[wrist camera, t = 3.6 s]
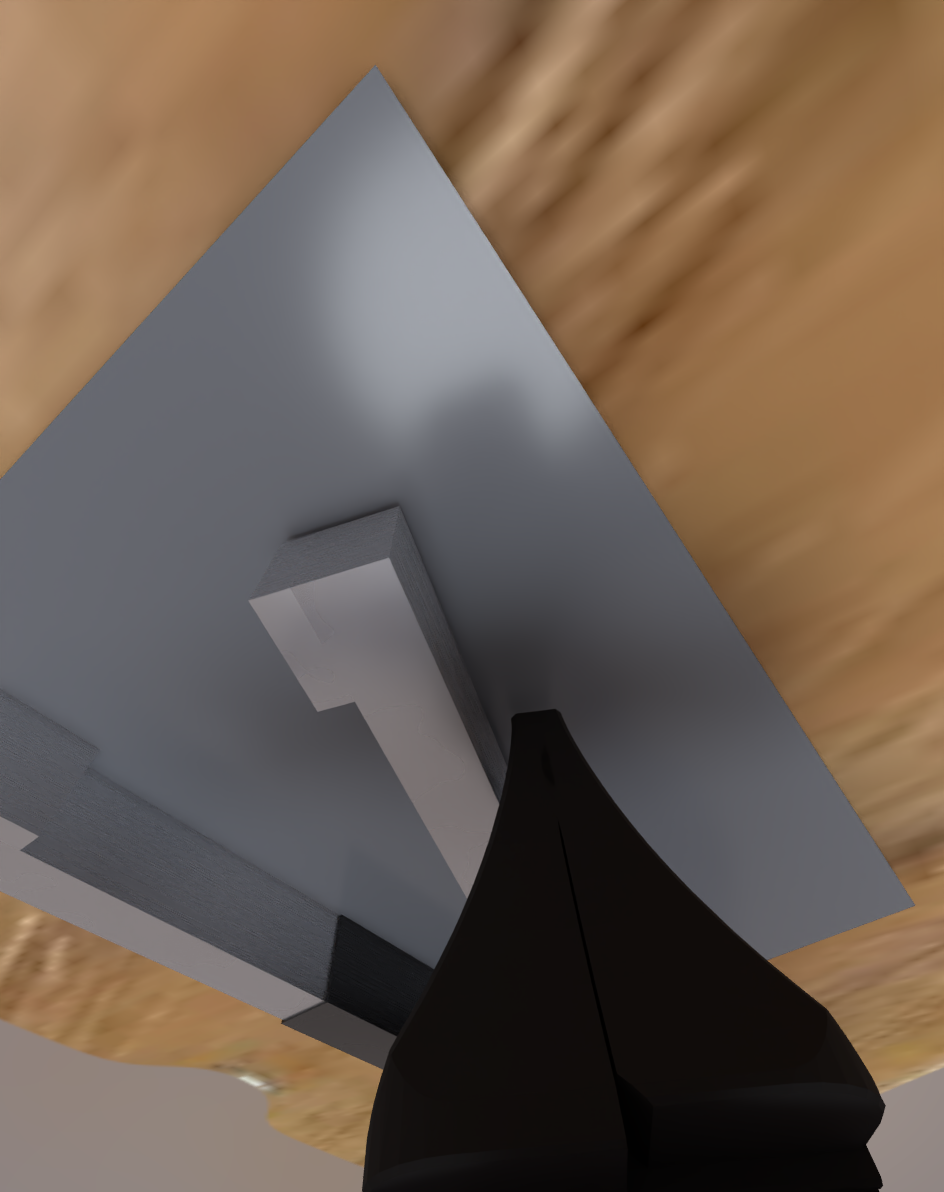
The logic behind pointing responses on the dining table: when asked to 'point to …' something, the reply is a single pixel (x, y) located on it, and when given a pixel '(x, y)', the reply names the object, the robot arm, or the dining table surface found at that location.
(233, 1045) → the dining table surface
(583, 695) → the slate board
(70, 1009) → the dining table surface
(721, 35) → the dining table surface
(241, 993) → the arm
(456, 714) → the tongs moving arm
